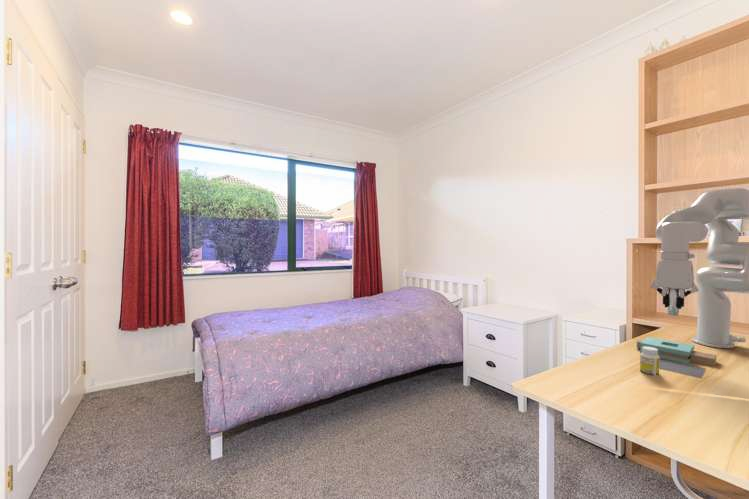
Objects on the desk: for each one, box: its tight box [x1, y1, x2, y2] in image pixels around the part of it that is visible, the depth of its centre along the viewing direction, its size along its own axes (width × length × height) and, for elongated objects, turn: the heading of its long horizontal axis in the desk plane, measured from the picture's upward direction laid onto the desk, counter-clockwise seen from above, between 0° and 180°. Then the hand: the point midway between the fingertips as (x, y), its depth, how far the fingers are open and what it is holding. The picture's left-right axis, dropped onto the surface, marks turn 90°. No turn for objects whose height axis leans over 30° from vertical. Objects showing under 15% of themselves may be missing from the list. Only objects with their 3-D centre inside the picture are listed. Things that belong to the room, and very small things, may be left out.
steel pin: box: [667, 288, 680, 317], centre depth 123 cm, size 3×3×10 cm
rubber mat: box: [659, 357, 707, 379], centre depth 114 cm, size 12×12×1 cm
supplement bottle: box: [639, 346, 660, 376], centre depth 110 cm, size 5×5×8 cm
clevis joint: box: [636, 336, 718, 367], centre depth 125 cm, size 22×12×4 cm, turn 41°
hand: (673, 307), depth 124 cm, fingers closed on steel pin, 3 cm apart
